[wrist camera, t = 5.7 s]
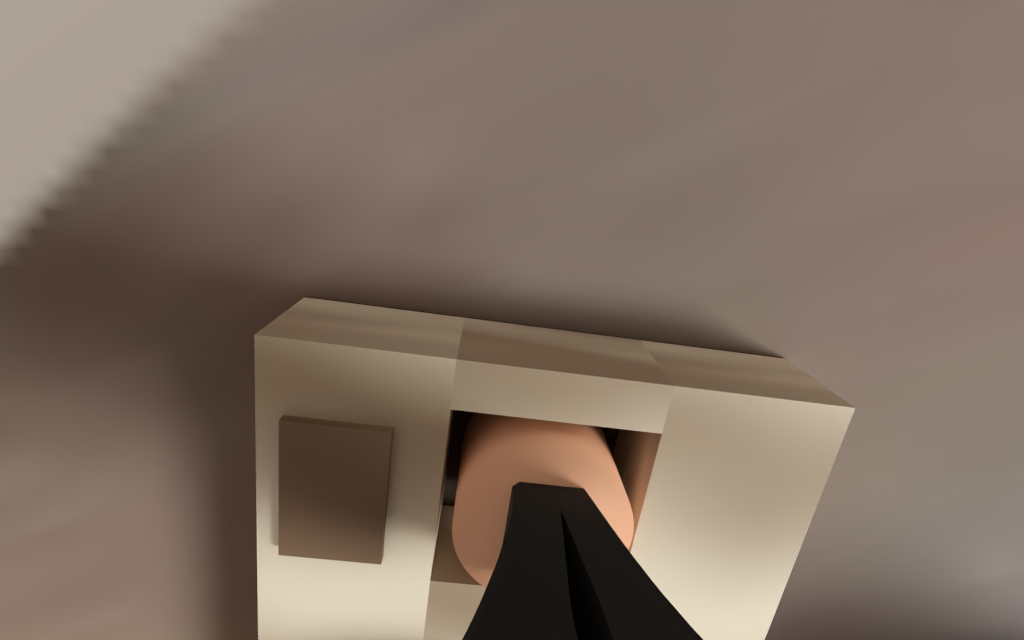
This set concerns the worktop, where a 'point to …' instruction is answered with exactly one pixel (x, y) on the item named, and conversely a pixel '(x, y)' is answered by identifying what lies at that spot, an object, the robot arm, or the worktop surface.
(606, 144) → the worktop surface
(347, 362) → the button board
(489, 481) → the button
